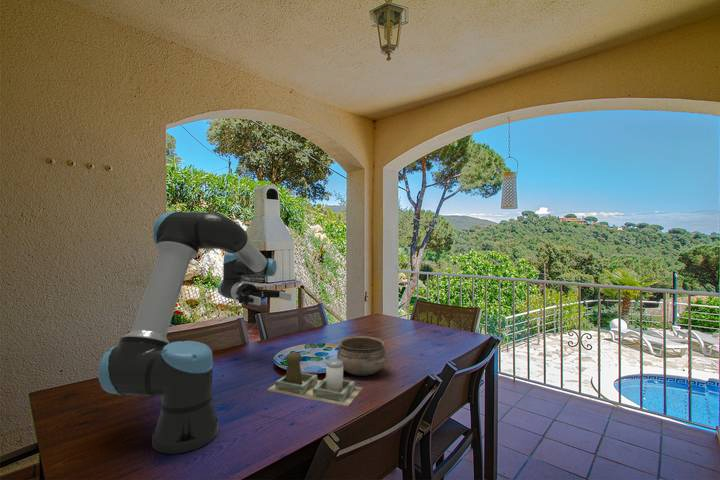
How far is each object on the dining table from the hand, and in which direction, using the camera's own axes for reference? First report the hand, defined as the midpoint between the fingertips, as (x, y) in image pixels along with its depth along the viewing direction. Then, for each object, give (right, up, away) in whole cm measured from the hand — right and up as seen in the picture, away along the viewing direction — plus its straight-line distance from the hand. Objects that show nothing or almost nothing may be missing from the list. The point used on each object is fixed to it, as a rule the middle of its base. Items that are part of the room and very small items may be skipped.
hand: (275, 299), depth 125 cm
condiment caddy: (+16, -29, -11) cm, 35 cm away
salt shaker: (+23, -28, -14) cm, 39 cm away
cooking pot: (+31, -30, +6) cm, 44 cm away
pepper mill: (+8, -28, -9) cm, 31 cm away
